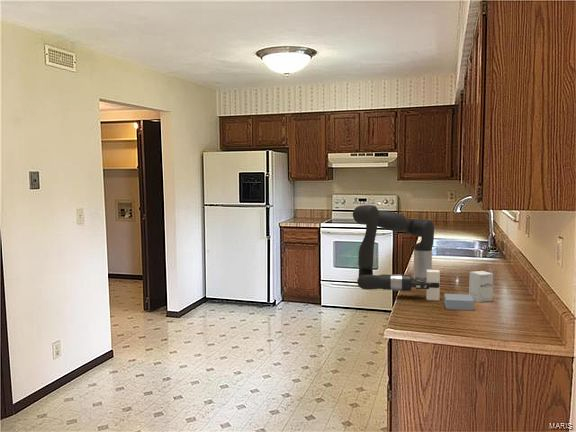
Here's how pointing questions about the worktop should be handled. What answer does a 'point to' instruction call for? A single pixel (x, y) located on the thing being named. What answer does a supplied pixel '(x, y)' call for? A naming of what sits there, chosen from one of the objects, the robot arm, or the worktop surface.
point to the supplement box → (481, 286)
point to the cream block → (433, 277)
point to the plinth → (458, 302)
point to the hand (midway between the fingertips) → (438, 283)
